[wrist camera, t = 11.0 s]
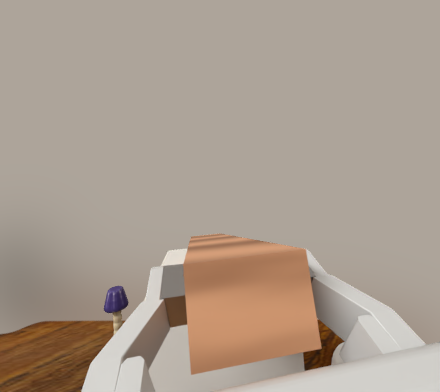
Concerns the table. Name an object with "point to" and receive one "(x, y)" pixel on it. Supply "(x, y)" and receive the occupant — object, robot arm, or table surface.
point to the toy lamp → (116, 305)
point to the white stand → (212, 380)
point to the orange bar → (246, 302)
